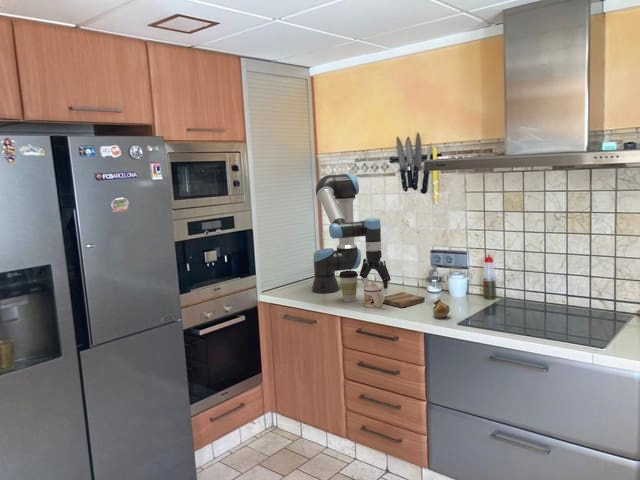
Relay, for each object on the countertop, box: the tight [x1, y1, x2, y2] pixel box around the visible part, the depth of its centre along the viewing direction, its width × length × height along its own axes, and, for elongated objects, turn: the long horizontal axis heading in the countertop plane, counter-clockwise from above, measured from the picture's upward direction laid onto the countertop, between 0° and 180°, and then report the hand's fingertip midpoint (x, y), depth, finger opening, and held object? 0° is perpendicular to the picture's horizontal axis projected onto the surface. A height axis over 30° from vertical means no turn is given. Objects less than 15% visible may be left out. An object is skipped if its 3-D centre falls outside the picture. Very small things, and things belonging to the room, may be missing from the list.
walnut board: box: [382, 291, 426, 309], centre depth 264 cm, size 16×16×2 cm
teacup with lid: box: [363, 282, 385, 309], centre depth 259 cm, size 12×9×12 cm
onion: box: [432, 298, 451, 319], centre depth 235 cm, size 8×8×8 cm
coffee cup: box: [338, 270, 359, 303], centre depth 272 cm, size 10×10×15 cm
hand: (375, 292), depth 258 cm, fingers open, 13 cm apart
